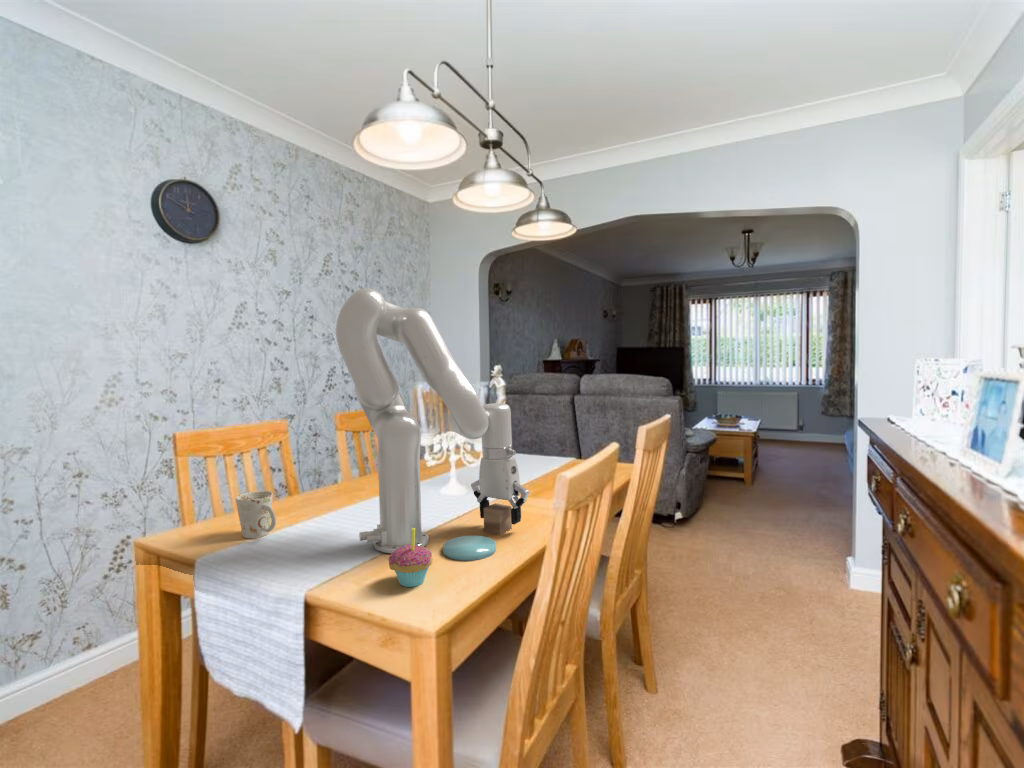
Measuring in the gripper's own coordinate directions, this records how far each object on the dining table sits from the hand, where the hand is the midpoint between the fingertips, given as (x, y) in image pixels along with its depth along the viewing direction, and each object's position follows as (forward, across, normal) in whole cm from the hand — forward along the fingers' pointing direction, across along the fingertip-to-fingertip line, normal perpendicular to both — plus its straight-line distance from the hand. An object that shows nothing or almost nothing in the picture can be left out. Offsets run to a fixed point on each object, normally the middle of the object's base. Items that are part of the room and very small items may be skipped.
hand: (500, 519), depth 129 cm
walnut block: (+3, 0, +1) cm, 3 cm away
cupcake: (+2, -2, +34) cm, 34 cm away
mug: (+1, +48, +35) cm, 60 cm away
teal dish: (+2, -2, +15) cm, 15 cm away
